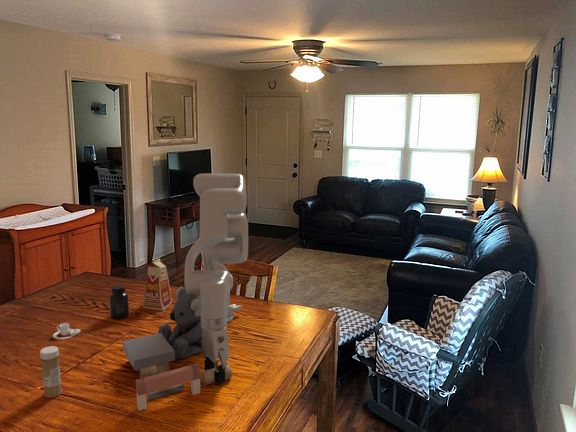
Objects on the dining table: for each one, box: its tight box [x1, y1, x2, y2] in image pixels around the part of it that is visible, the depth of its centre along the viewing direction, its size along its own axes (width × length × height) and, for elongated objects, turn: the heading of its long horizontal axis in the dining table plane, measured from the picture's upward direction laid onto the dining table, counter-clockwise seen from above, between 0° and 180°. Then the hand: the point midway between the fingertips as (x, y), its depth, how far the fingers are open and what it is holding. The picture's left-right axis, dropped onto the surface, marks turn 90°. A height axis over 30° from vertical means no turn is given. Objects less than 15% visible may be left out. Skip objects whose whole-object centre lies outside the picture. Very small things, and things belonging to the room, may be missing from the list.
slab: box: [122, 333, 176, 371], centre depth 148 cm, size 12×14×3 cm
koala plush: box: [157, 286, 204, 360], centre depth 162 cm, size 17×18×20 cm
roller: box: [200, 364, 233, 386], centre depth 142 cm, size 8×4×4 cm
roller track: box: [135, 361, 185, 401], centre depth 145 cm, size 10×25×4 cm, turn 31°
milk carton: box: [142, 258, 173, 311], centre depth 196 cm, size 9×9×20 cm
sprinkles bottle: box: [39, 345, 63, 399], centre depth 133 cm, size 5×5×14 cm
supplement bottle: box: [108, 284, 130, 321], centre depth 185 cm, size 7×7×12 cm
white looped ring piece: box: [52, 322, 81, 340], centre depth 171 cm, size 9×8×4 cm
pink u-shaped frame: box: [135, 363, 201, 412], centre depth 132 cm, size 17×2×8 cm, turn 121°
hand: (214, 376), depth 144 cm, fingers open, 6 cm apart
